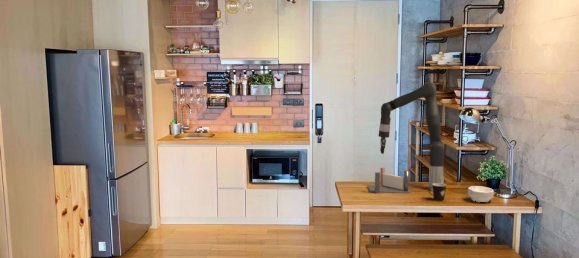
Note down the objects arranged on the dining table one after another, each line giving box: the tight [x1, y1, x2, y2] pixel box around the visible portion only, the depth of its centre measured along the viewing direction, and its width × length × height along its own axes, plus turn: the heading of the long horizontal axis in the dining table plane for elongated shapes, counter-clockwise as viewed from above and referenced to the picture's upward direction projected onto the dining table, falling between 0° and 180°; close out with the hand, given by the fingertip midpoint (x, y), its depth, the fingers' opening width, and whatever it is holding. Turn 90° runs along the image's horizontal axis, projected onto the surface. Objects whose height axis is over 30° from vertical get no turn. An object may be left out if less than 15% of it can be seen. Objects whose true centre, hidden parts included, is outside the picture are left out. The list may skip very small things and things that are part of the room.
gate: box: [379, 167, 404, 190], centre depth 322 cm, size 19×2×12 cm, turn 42°
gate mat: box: [367, 184, 411, 194], centre depth 321 cm, size 27×17×1 cm, turn 87°
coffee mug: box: [428, 183, 447, 202], centre depth 294 cm, size 12×9×10 cm
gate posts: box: [374, 169, 410, 194], centre depth 312 cm, size 23×3×15 cm, turn 95°
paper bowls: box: [467, 185, 495, 203], centre depth 292 cm, size 15×15×8 cm
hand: (382, 152), depth 331 cm, fingers open, 8 cm apart
